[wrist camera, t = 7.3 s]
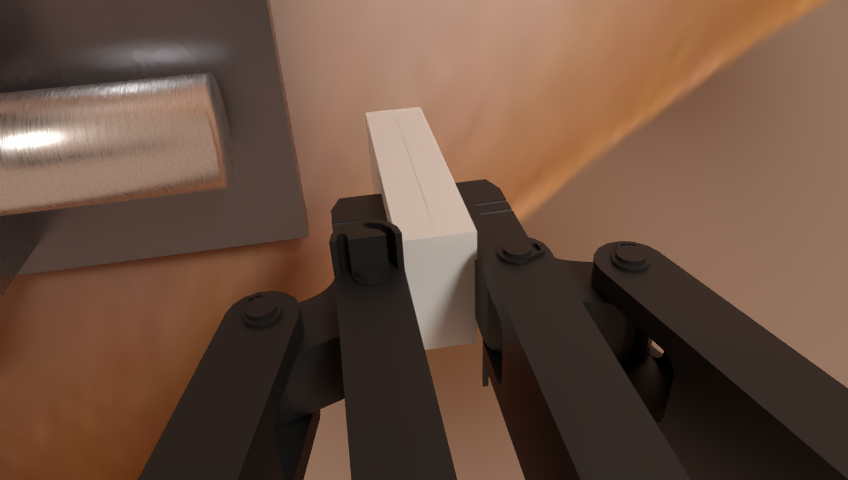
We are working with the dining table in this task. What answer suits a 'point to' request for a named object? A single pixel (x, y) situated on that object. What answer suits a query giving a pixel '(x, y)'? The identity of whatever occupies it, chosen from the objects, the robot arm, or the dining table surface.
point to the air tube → (112, 142)
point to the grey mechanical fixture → (151, 58)
